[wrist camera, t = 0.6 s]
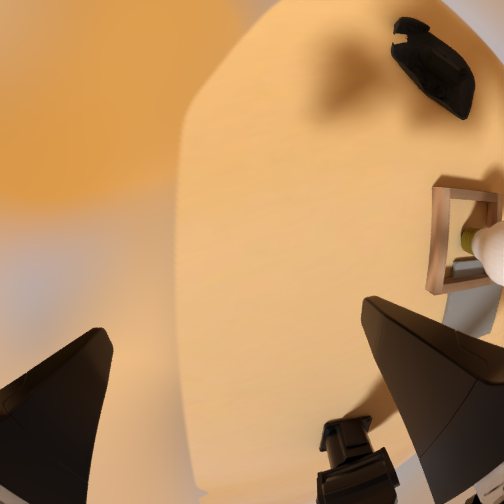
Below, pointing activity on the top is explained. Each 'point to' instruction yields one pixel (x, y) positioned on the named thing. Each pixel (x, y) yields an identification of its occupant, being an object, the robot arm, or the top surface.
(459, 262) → the coaster
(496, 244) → the light bulb
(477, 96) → the top surface
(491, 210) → the holder frame
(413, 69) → the black irregular lumpy piece
